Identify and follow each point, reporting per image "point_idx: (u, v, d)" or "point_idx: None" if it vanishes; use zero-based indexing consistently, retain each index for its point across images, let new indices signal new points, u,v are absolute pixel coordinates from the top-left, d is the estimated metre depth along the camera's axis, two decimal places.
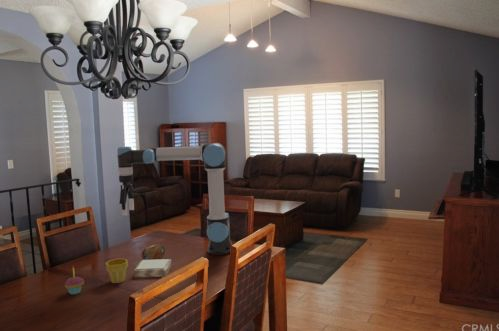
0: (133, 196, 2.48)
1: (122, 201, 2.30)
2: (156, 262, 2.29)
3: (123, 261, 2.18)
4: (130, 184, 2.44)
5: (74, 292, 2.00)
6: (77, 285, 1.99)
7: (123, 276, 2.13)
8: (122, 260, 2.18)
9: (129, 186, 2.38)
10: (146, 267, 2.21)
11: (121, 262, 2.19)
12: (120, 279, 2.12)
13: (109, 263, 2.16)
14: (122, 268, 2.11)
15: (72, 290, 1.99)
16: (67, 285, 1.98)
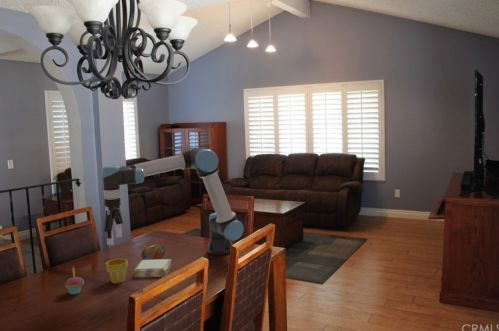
0: (121, 221, 2.20)
1: (107, 229, 2.02)
2: (156, 262, 2.29)
3: (123, 261, 2.18)
4: (117, 208, 2.16)
5: (74, 292, 2.00)
6: (77, 285, 1.99)
7: (123, 276, 2.13)
8: (122, 260, 2.18)
9: (116, 211, 2.10)
10: (146, 267, 2.21)
11: (121, 262, 2.19)
12: (120, 279, 2.12)
13: (109, 263, 2.16)
14: (122, 268, 2.11)
15: (72, 290, 1.99)
16: (67, 285, 1.98)
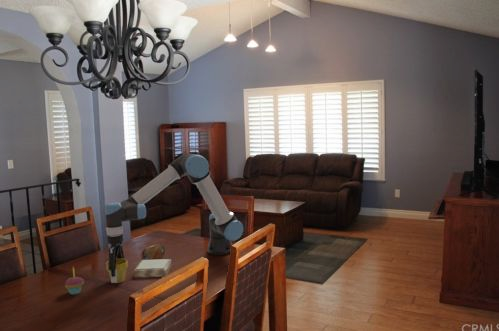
0: None
1: (111, 268, 2.06)
2: (156, 262, 2.29)
3: (123, 261, 2.18)
4: (120, 244, 2.18)
5: (74, 292, 2.00)
6: (77, 285, 1.99)
7: (123, 276, 2.13)
8: (122, 260, 2.18)
9: (118, 247, 2.12)
10: (146, 267, 2.21)
11: (121, 262, 2.19)
12: (120, 279, 2.12)
13: None
14: (122, 268, 2.11)
15: (72, 290, 1.99)
16: (67, 285, 1.98)
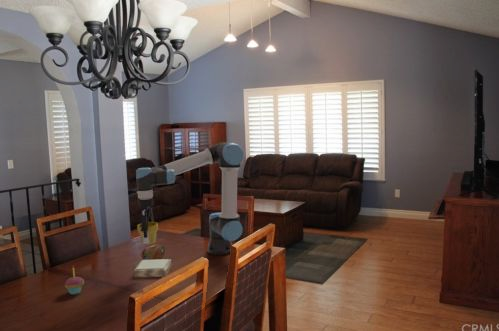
0: None
1: (144, 229, 2.15)
2: (156, 262, 2.29)
3: (153, 224, 2.27)
4: (150, 208, 2.27)
5: (74, 292, 2.00)
6: (77, 285, 1.99)
7: (154, 238, 2.22)
8: (152, 223, 2.27)
9: (149, 210, 2.21)
10: (146, 267, 2.21)
11: (151, 225, 2.28)
12: (151, 240, 2.21)
13: (140, 226, 2.25)
14: (153, 230, 2.20)
15: (72, 290, 1.99)
16: (67, 285, 1.98)
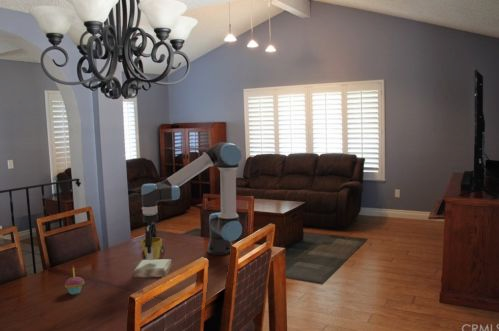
0: None
1: (148, 245, 2.17)
2: (156, 262, 2.29)
3: (157, 239, 2.29)
4: (154, 223, 2.29)
5: (74, 292, 2.00)
6: (77, 285, 1.99)
7: (158, 253, 2.24)
8: (156, 238, 2.29)
9: (154, 226, 2.23)
10: (146, 267, 2.21)
11: (155, 240, 2.30)
12: (155, 256, 2.23)
13: (144, 241, 2.27)
14: (157, 245, 2.22)
15: (72, 290, 1.99)
16: (67, 285, 1.98)
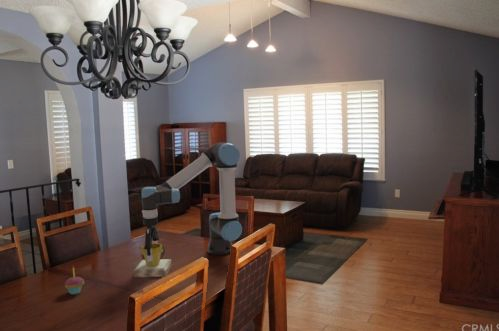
0: (157, 238, 2.33)
1: (147, 247, 2.15)
2: None
3: (157, 246, 2.29)
4: None
5: (74, 292, 2.00)
6: (77, 285, 1.99)
7: (158, 260, 2.24)
8: (156, 245, 2.29)
9: (154, 229, 2.23)
10: (146, 267, 2.21)
11: (155, 247, 2.29)
12: (155, 262, 2.23)
13: (144, 247, 2.27)
14: (157, 252, 2.21)
15: (72, 290, 1.99)
16: (67, 285, 1.98)
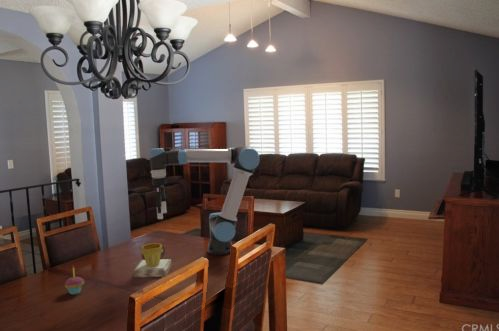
0: (165, 199, 2.41)
1: (158, 204, 2.24)
2: None
3: (157, 246, 2.29)
4: (162, 187, 2.38)
5: (74, 292, 2.00)
6: (77, 285, 1.99)
7: (158, 260, 2.24)
8: (156, 245, 2.29)
9: (163, 189, 2.31)
10: (146, 267, 2.21)
11: (155, 247, 2.29)
12: (155, 262, 2.23)
13: (144, 247, 2.27)
14: (157, 252, 2.21)
15: (72, 290, 1.99)
16: (67, 285, 1.98)
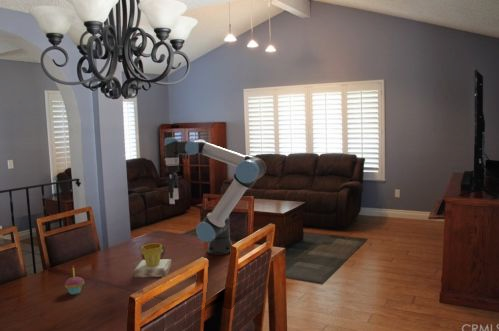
0: (177, 186, 2.56)
1: (170, 190, 2.38)
2: None
3: (157, 246, 2.29)
4: (175, 174, 2.53)
5: (74, 292, 2.00)
6: (77, 285, 1.99)
7: (158, 260, 2.24)
8: (156, 245, 2.29)
9: (175, 176, 2.46)
10: (146, 267, 2.21)
11: (155, 247, 2.29)
12: (155, 262, 2.23)
13: (144, 247, 2.27)
14: (157, 252, 2.21)
15: (72, 290, 1.99)
16: (67, 285, 1.98)
